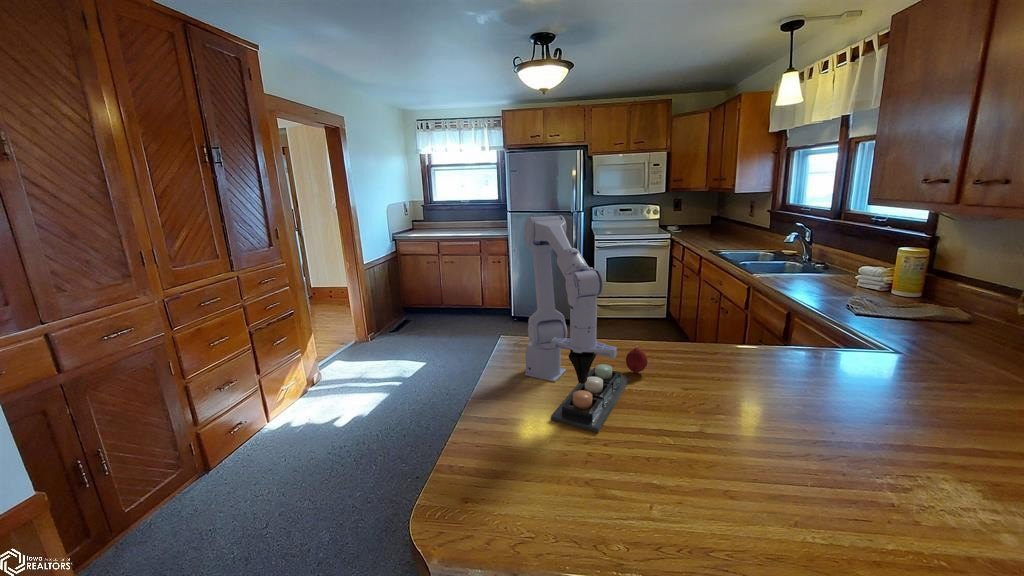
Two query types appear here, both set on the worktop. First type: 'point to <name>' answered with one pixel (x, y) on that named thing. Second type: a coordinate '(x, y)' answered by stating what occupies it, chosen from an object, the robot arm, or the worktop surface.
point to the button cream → (594, 385)
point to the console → (600, 404)
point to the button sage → (603, 371)
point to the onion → (636, 360)
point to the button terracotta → (582, 400)
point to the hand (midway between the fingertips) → (582, 381)
